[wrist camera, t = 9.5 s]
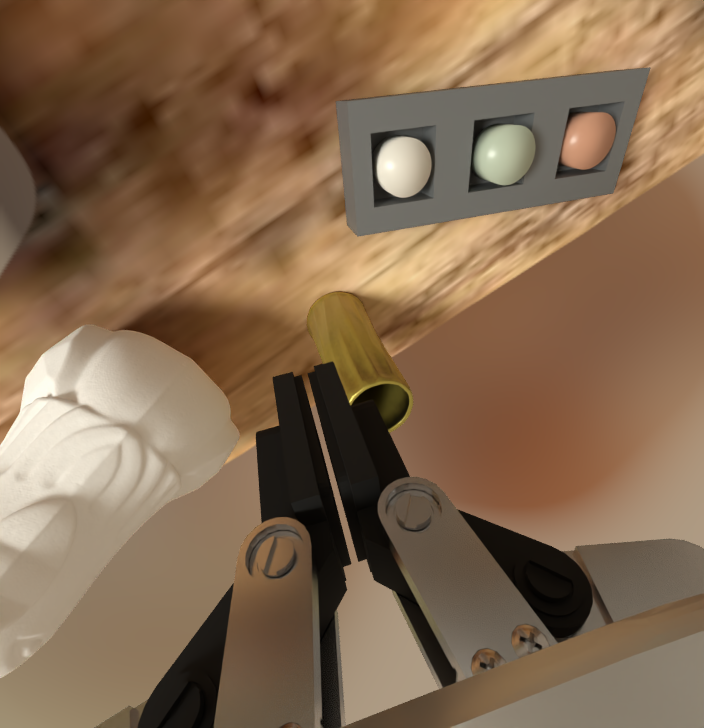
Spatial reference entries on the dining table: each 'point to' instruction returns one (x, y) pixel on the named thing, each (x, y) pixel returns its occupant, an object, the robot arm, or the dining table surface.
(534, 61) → the dining table surface
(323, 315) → the vase
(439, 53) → the dining table surface
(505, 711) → the robot arm
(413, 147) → the cream rounded piece
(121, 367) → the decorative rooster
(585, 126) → the terracotta button
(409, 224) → the button panel
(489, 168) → the sage button
